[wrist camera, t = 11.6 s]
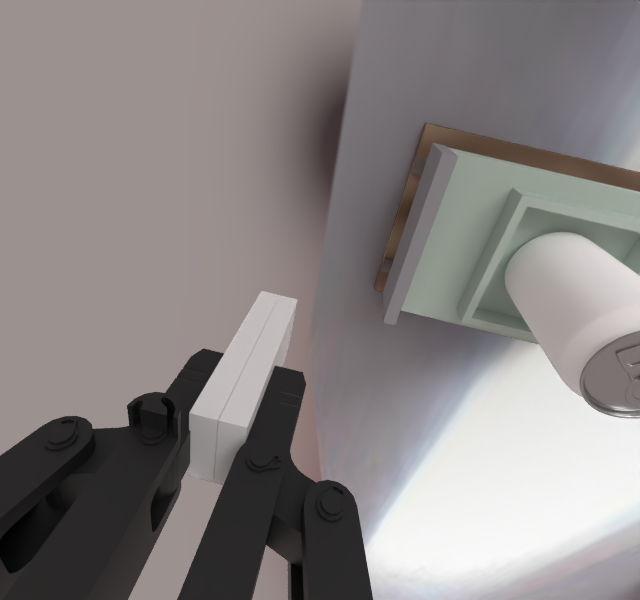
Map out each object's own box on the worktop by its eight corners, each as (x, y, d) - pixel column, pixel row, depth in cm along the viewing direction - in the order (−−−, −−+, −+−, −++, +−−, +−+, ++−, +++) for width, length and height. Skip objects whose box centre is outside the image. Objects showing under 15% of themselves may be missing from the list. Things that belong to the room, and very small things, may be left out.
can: (519, 318, 30) (591, 438, 20) (489, 255, 28) (553, 353, 17) (607, 284, 28) (742, 401, 17) (582, 212, 25) (720, 297, 15)
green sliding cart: (430, 140, 28) (442, 152, 22) (666, 195, 27) (735, 220, 22) (382, 286, 34) (383, 322, 29) (570, 332, 34) (606, 377, 29)
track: (425, 122, 29) (429, 126, 26) (952, 244, 28) (1010, 260, 25) (374, 285, 36) (373, 300, 34) (784, 385, 35) (816, 408, 33)
